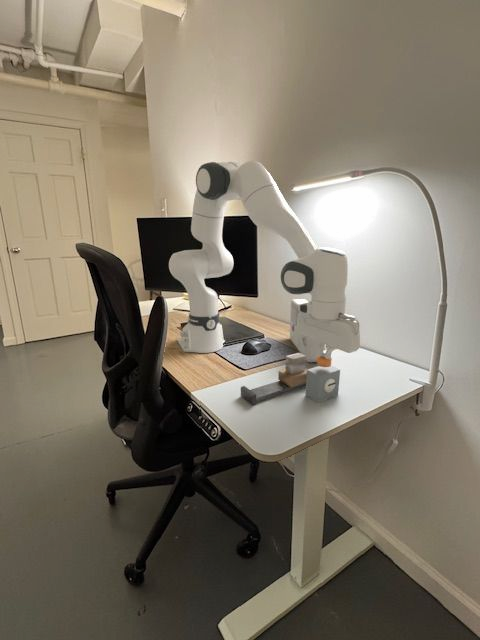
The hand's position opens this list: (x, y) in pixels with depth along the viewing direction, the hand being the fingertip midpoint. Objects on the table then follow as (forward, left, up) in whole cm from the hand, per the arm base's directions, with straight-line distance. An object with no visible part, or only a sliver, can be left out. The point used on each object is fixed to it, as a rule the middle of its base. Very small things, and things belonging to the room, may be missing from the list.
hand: (324, 357), depth 92 cm
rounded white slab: (-30, +21, -12) cm, 39 cm away
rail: (-9, -8, -12) cm, 17 cm away
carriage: (-9, -3, -10) cm, 14 cm away
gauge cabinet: (0, 0, -12) cm, 12 cm away
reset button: (0, 0, -2) cm, 2 cm away
